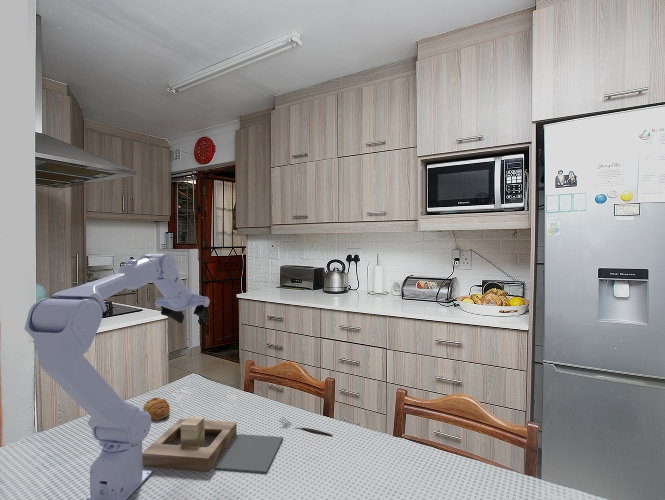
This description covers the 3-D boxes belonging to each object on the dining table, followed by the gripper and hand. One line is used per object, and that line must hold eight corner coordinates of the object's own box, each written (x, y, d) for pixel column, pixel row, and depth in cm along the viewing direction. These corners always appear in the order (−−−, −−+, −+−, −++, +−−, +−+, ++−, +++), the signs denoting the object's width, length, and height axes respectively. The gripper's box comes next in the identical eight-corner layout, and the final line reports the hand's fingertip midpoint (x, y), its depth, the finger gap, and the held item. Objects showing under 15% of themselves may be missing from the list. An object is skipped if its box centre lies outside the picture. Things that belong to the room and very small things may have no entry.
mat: (266, 473, 79) (266, 471, 79) (214, 469, 80) (214, 467, 80) (282, 438, 93) (282, 437, 93) (238, 435, 94) (238, 434, 94)
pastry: (175, 416, 105) (175, 403, 105) (151, 424, 100) (151, 411, 100) (163, 406, 112) (163, 394, 112) (140, 413, 107) (140, 401, 107)
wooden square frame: (208, 471, 79) (208, 458, 79) (142, 466, 81) (141, 453, 81) (236, 433, 95) (236, 422, 95) (180, 429, 97) (180, 418, 97)
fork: (330, 439, 93) (330, 432, 93) (278, 427, 99) (278, 420, 99) (334, 434, 95) (334, 427, 95) (283, 422, 101) (283, 415, 101)
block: (196, 454, 86) (196, 425, 86) (181, 452, 87) (180, 424, 86) (204, 444, 90) (204, 417, 90) (189, 443, 91) (189, 416, 90)
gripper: (205, 277, 94) (222, 307, 103) (154, 278, 96) (176, 309, 105) (195, 298, 89) (215, 328, 98) (142, 299, 91) (166, 329, 100)
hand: (194, 320), depth 102 cm, fingers open, 7 cm apart
